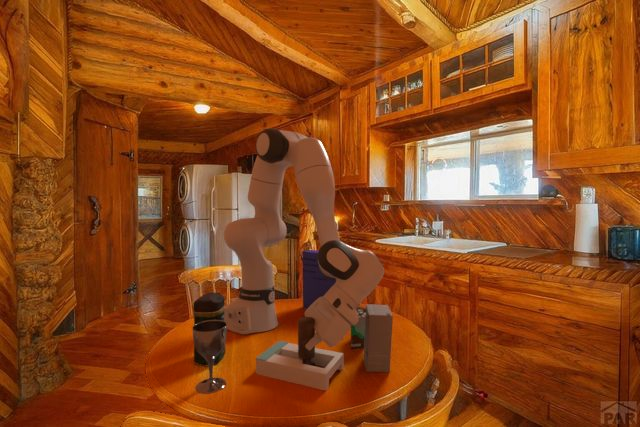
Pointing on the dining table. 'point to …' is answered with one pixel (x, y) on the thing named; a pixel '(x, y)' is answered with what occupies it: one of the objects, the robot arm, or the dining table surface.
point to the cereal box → (313, 279)
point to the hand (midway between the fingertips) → (304, 343)
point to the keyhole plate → (299, 365)
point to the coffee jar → (208, 318)
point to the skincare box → (377, 338)
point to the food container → (358, 330)
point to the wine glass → (210, 350)
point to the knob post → (304, 334)
